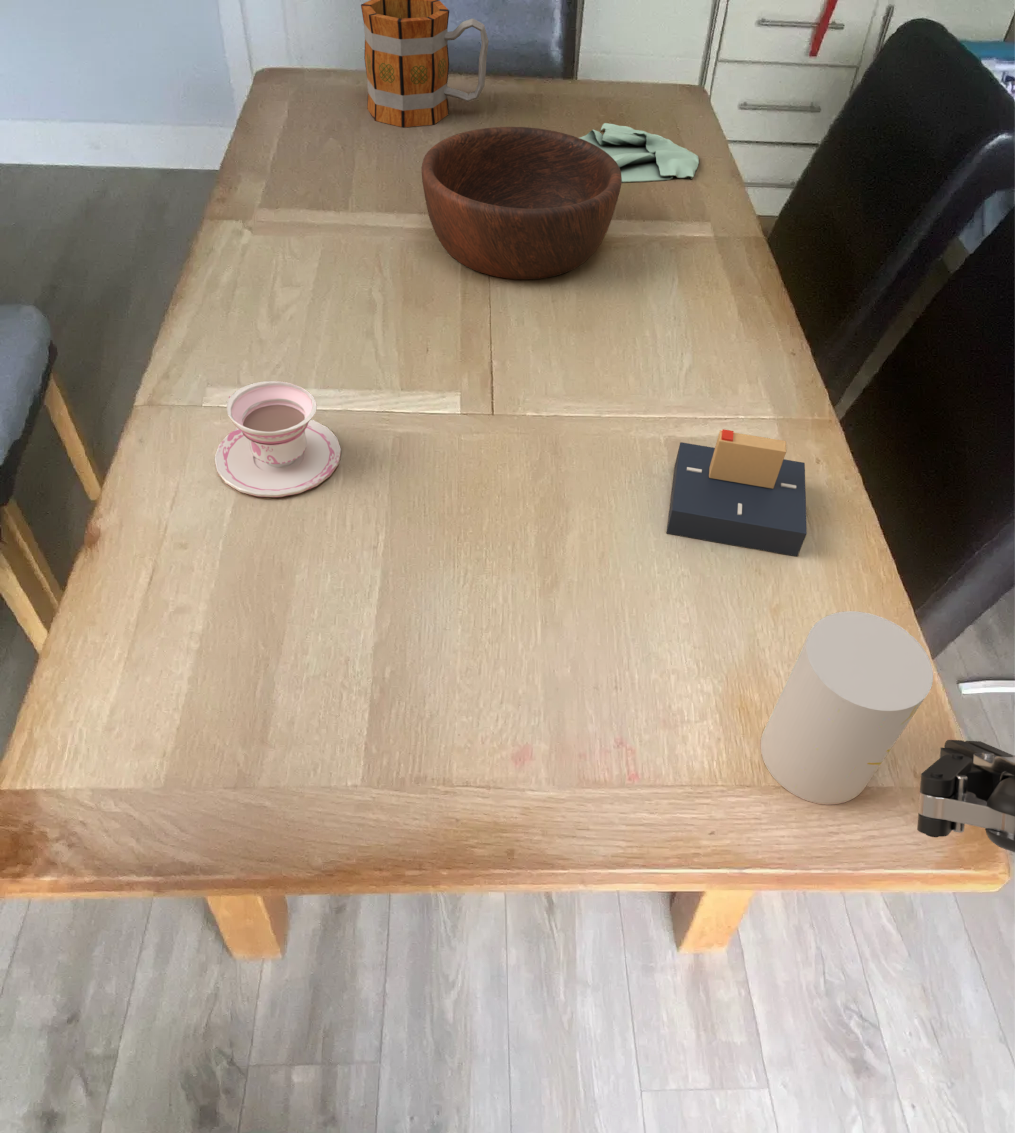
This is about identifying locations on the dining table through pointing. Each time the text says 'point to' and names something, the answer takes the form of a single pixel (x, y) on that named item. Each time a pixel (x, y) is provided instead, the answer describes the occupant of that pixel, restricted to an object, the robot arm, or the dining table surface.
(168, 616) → the dining table surface
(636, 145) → the cloth
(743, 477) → the tan rectangular block
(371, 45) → the mug
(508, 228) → the wooden bowl
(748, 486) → the console
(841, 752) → the beige solid cylinder
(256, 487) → the teacup
